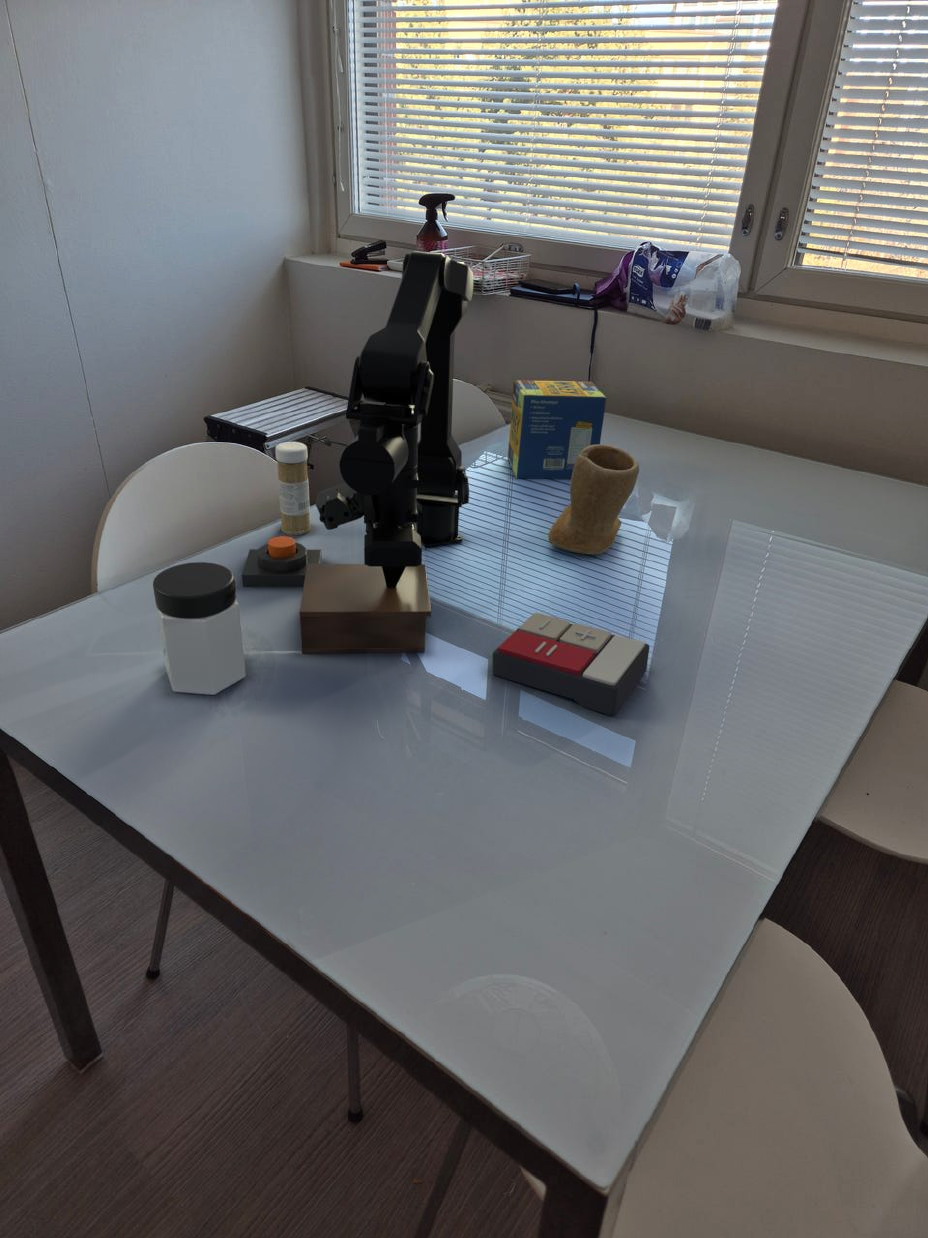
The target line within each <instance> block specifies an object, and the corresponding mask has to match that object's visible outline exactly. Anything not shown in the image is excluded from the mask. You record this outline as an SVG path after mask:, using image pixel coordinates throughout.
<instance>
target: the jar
mask: <svg viewBox="0 0 928 1238" xmlns="http://www.w3.org/2000/svg"><path fill="white" fill-rule="evenodd" d="M152 589H153V595H154V601H155V608H156V615H157V620H158V627H159V635H160V639H161V640H160V641H161V646H162V652H163V658H164V665H165V670H166V674H167V677H168V680H169V684H170V687H171V690H172V691H173V692H174V693H182V694H183V693H184V694H197V695H208V696H209V695H210V696H215V695H217V694H219V693H220V692H222V691H224V690H225V689H227V688H229V687H230V686H233V684H236V683H237V682H239V681H241V680H242V679H245V677H246V675H247V673H246V665H245V663H246V662H245V653H244V645H243V644H244V643H243V635H242V625H241V615H240V605H239V602H238V601H237V593H236V592H237V586H236V581H235V576H234V573H233V572H232V570H231V569H229V568H228V567H226V566H224V565H221V564H219V563H214V562H207V561H206V562H205V561H198V562H195V561H194V562H187V563H181V564H177V565H173V566H170V567H168V568H166V569H164V570H162V571H161V572H159V573H158V574H156V576H155V577H154V579H153V581H152Z"/></svg>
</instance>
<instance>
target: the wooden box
mask: <svg viewBox="0 0 928 1238" xmlns="http://www.w3.org/2000/svg"><path fill="white" fill-rule="evenodd" d="M426 623H427V617H300V616H299V624H300V625H299V626H300V642H301V643H300V644H301V654H308V655H309V654H390V653H392V654H396V653H397V654H399V653H400V654H401V653H403V654H404V653H405V654H406V653H412V654H413V653H426Z"/></svg>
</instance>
